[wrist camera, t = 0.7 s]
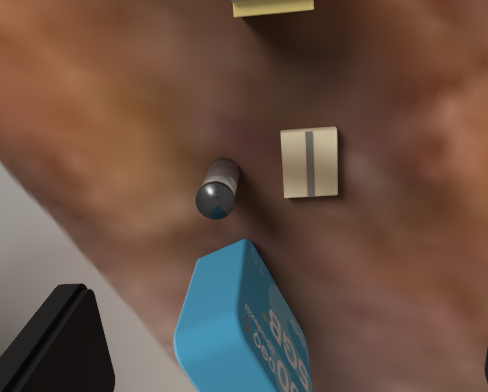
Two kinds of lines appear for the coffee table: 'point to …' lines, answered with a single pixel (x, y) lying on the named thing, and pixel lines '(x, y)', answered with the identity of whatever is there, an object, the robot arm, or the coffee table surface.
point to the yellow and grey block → (269, 7)
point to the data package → (239, 328)
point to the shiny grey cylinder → (218, 189)
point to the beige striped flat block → (309, 162)
